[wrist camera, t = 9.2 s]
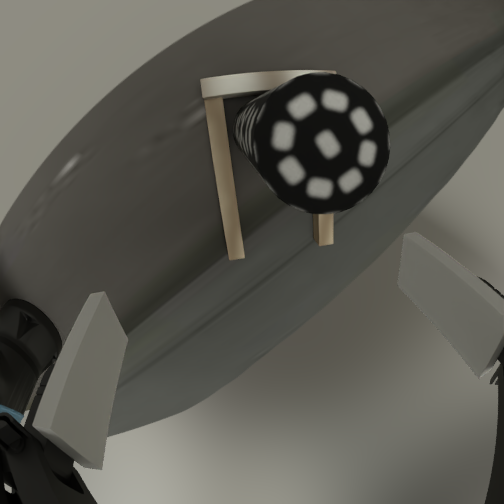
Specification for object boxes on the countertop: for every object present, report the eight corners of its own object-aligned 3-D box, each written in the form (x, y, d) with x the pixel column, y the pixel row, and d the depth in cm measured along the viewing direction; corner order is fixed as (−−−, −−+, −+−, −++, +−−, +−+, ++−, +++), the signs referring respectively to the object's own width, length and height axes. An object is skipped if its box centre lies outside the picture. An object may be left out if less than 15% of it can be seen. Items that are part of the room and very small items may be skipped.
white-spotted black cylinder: (312, 137, 33) (409, 164, 15) (260, 175, 35) (308, 241, 17) (273, 84, 30) (342, 48, 12) (218, 124, 31) (220, 128, 14)
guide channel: (228, 251, 39) (230, 274, 34) (203, 86, 29) (200, 79, 24) (326, 236, 40) (343, 255, 34) (317, 77, 30) (335, 70, 24)
